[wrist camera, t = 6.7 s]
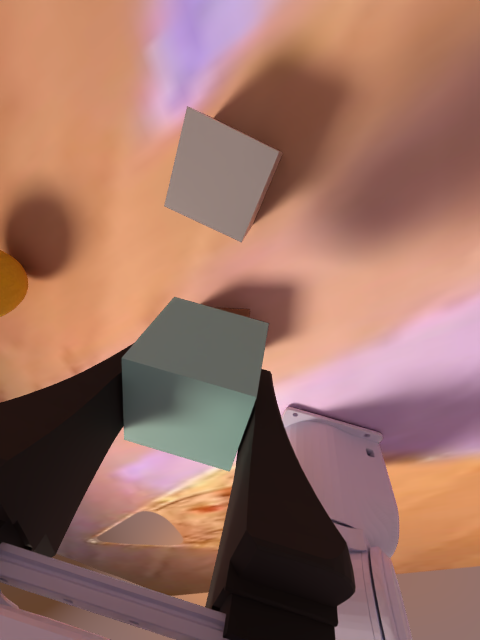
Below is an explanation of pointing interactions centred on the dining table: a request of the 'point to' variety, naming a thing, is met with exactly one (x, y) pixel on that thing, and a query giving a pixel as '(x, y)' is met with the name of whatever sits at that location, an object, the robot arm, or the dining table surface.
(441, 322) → the dining table surface
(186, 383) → the teal block
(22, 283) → the lemon
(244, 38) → the dining table surface
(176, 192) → the grey block
